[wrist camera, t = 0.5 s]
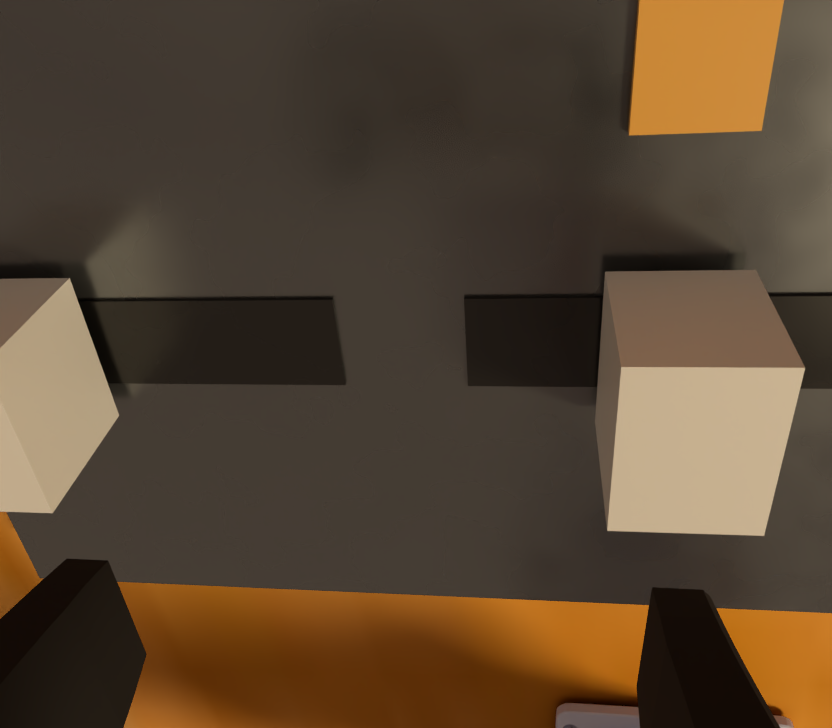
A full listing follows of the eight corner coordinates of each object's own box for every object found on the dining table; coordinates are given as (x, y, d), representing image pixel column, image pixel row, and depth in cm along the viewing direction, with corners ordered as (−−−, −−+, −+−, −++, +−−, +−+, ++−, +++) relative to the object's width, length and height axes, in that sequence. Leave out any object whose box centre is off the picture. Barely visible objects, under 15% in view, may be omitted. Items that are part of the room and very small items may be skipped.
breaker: (119, 415, 20) (52, 513, 18) (12, 414, 21) (-70, 509, 18) (69, 278, 18) (-17, 364, 15) (-50, 279, 19) (-155, 363, 16)
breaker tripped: (727, 423, 18) (764, 535, 15) (594, 421, 19) (607, 530, 16) (756, 270, 16) (805, 368, 13) (604, 271, 16) (621, 367, 14)
